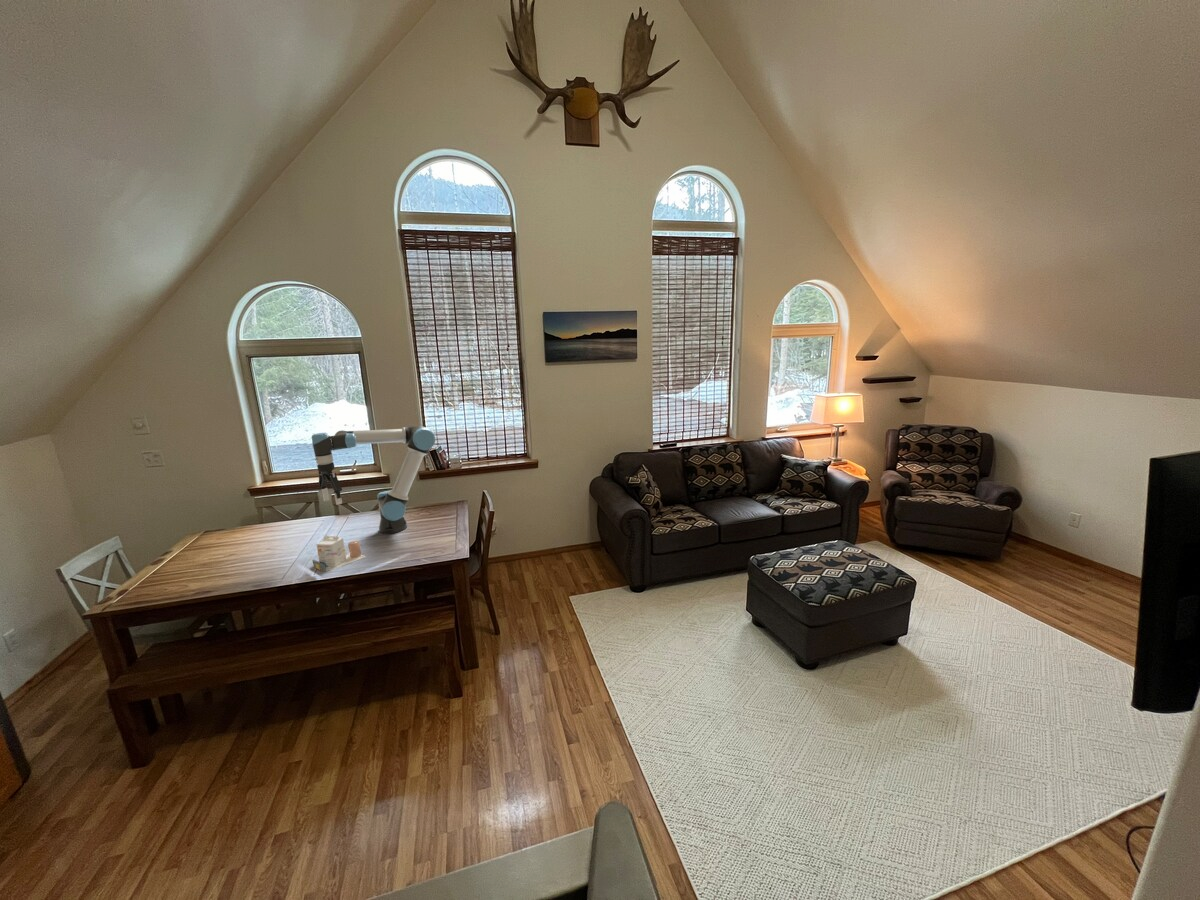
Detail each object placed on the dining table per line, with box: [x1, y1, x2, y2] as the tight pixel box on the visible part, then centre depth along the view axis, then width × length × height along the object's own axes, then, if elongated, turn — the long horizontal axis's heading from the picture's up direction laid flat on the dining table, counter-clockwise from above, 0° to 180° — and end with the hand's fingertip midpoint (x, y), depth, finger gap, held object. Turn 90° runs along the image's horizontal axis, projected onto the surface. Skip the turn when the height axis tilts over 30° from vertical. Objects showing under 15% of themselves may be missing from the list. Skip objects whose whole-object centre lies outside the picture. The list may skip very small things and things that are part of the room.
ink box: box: [316, 535, 347, 567], centre depth 231 cm, size 9×8×13 cm
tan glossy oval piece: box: [347, 540, 362, 558], centre depth 239 cm, size 5×5×7 cm
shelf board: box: [312, 552, 367, 573], centre depth 233 cm, size 20×12×4 cm, turn 142°
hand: (333, 502), depth 248 cm, fingers open, 13 cm apart
